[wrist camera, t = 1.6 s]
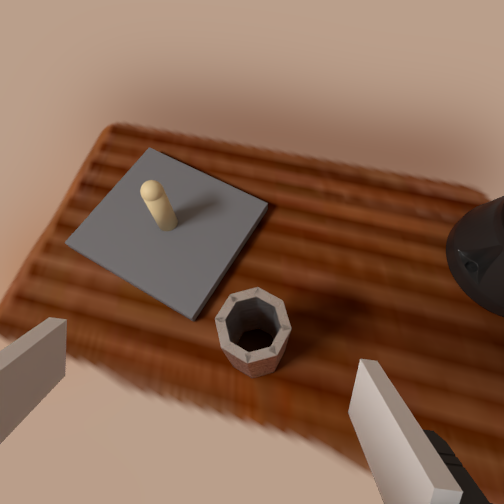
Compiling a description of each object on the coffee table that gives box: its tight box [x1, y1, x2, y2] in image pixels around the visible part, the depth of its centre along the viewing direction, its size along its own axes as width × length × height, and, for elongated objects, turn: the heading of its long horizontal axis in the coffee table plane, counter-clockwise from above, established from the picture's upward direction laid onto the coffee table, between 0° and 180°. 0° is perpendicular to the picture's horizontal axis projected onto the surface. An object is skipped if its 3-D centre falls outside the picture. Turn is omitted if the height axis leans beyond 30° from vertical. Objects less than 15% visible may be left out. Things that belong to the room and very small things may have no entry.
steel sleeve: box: [215, 287, 292, 378], centre depth 35 cm, size 6×6×12 cm
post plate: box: [65, 148, 268, 321], centre depth 43 cm, size 20×18×10 cm
